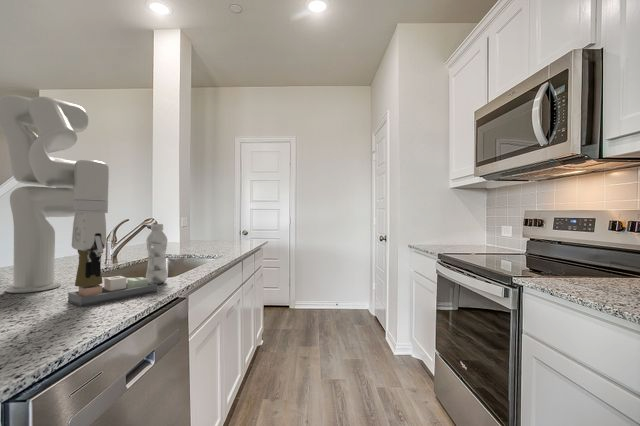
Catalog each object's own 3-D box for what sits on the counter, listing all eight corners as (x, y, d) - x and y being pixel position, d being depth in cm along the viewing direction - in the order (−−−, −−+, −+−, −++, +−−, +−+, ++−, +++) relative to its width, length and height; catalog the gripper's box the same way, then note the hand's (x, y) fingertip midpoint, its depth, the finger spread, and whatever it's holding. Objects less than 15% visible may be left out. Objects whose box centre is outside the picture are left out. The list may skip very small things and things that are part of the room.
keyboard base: (68, 302, 84) (68, 292, 84) (142, 288, 99) (142, 280, 99) (81, 308, 79) (81, 298, 79) (157, 293, 94) (157, 284, 94)
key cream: (104, 288, 89) (104, 277, 89) (119, 286, 92) (120, 275, 92) (110, 290, 86) (110, 279, 86) (126, 288, 90) (126, 277, 90)
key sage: (127, 289, 94) (127, 278, 94) (141, 287, 97) (141, 276, 97) (133, 291, 91) (133, 280, 91) (147, 288, 94) (148, 278, 94)
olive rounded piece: (88, 287, 81) (89, 244, 81) (68, 285, 82) (69, 243, 82) (108, 282, 87) (109, 242, 87) (89, 280, 88) (90, 241, 88)
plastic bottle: (144, 286, 102) (144, 224, 102) (147, 282, 108) (147, 224, 108) (166, 285, 104) (166, 224, 104) (168, 281, 110) (168, 223, 110)
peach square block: (78, 298, 84) (78, 286, 84) (96, 294, 87) (96, 283, 87) (84, 300, 81) (84, 288, 81) (102, 297, 85) (102, 285, 85)
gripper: (62, 206, 86) (61, 273, 86) (86, 207, 76) (84, 283, 77) (94, 207, 92) (93, 269, 92) (120, 208, 83) (118, 278, 83)
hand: (89, 275), depth 84 cm, fingers closed on olive rounded piece, 4 cm apart
